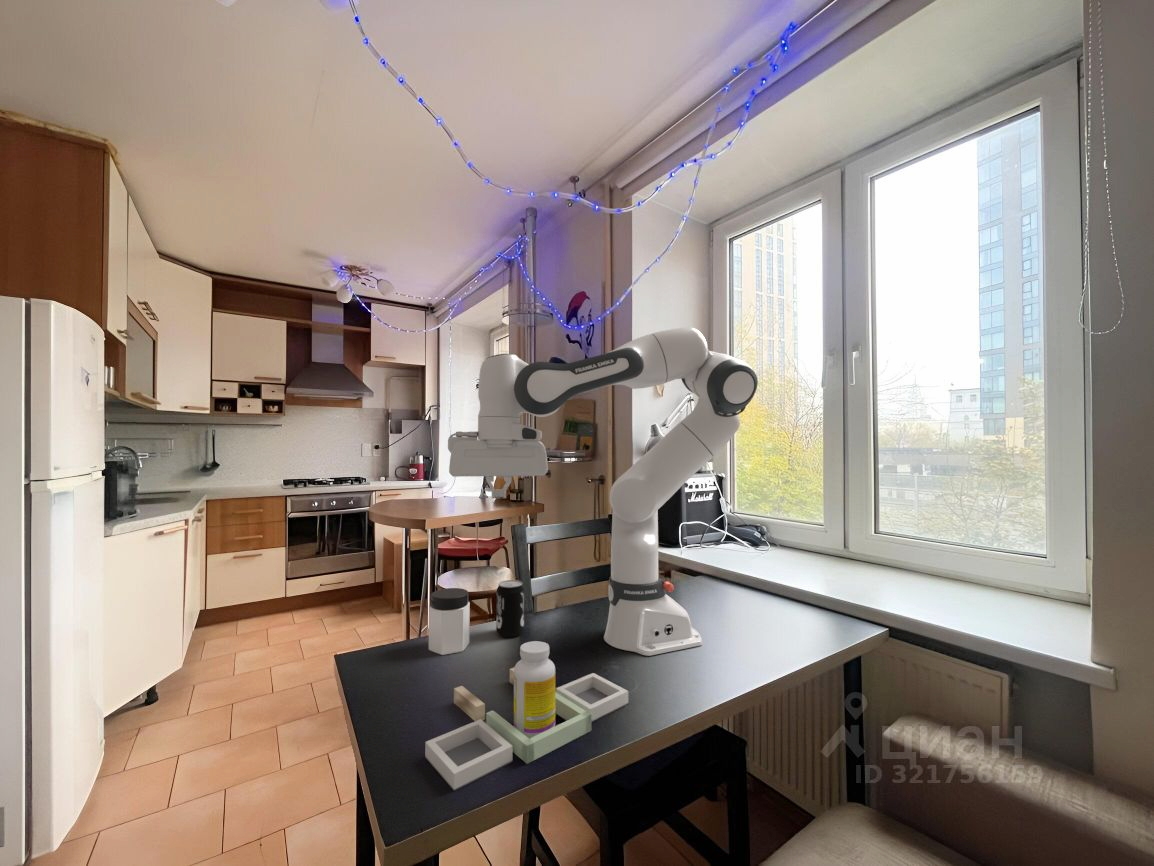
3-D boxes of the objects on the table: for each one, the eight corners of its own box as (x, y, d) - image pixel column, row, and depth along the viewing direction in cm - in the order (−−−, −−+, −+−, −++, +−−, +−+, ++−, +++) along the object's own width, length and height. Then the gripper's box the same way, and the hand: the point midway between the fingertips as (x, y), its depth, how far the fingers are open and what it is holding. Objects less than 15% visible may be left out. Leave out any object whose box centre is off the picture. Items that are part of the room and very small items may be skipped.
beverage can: (518, 639, 112) (519, 587, 113) (492, 637, 114) (492, 586, 114) (527, 629, 119) (527, 580, 119) (501, 627, 120) (502, 578, 120)
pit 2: (555, 700, 85) (555, 688, 85) (593, 684, 91) (593, 672, 91) (590, 722, 78) (590, 709, 79) (628, 703, 84) (628, 691, 84)
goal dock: (486, 728, 77) (486, 712, 77) (548, 702, 85) (548, 687, 85) (526, 763, 68) (527, 745, 68) (591, 730, 76) (591, 714, 76)
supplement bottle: (564, 727, 77) (564, 646, 78) (533, 746, 72) (533, 659, 73) (535, 712, 82) (536, 635, 82) (504, 728, 77) (505, 646, 77)
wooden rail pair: (453, 702, 84) (454, 688, 85) (516, 679, 93) (516, 666, 93) (476, 722, 78) (476, 707, 79) (541, 695, 87) (541, 681, 87)
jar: (438, 638, 113) (439, 586, 113) (472, 639, 112) (473, 587, 113) (423, 654, 104) (424, 598, 104) (460, 656, 103) (460, 599, 104)
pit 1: (425, 757, 70) (425, 741, 70) (480, 733, 76) (480, 719, 76) (454, 791, 63) (454, 773, 63) (512, 761, 69) (512, 746, 69)
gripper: (447, 430, 96) (446, 500, 95) (549, 431, 100) (548, 498, 100) (448, 431, 102) (447, 497, 101) (544, 432, 107) (544, 495, 106)
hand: (498, 498), depth 101 cm, fingers closed
